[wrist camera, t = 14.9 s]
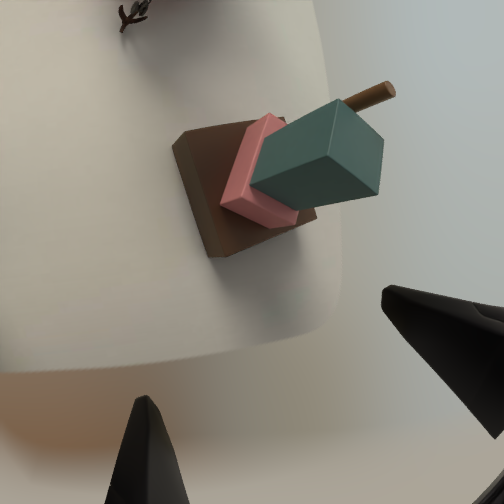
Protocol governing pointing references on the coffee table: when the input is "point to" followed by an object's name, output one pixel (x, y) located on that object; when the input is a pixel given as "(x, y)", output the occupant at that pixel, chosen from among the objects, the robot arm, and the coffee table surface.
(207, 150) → the walnut block
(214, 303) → the coffee table surface
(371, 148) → the peg stacking toy
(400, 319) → the robot arm
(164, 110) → the coffee table surface
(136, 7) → the toy boat
